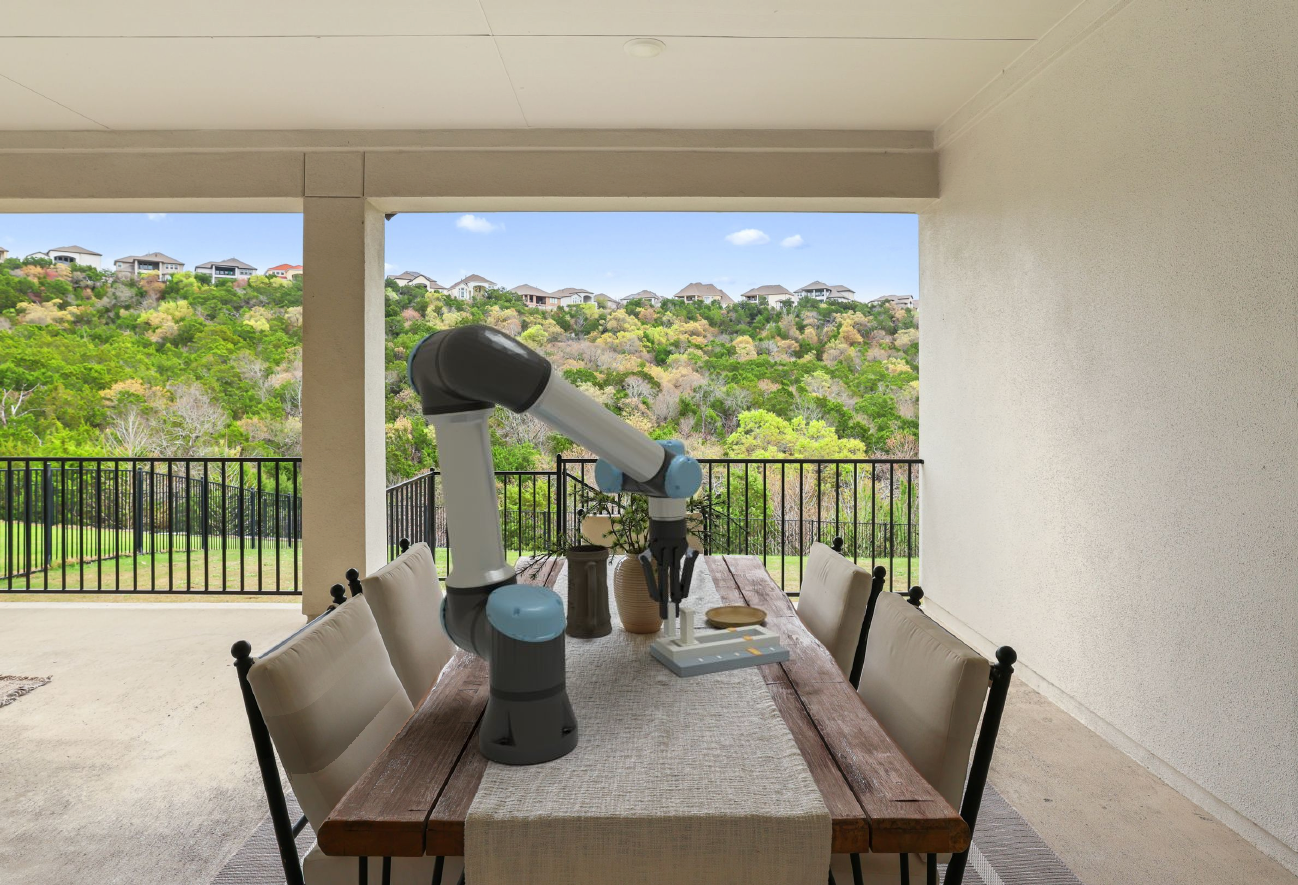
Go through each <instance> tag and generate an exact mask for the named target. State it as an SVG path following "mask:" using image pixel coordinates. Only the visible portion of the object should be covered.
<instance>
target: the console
mask: <svg viewBox="0 0 1298 885" xmlns="http://www.w3.org/2000/svg"><path fill="white" fill-rule="evenodd" d="M674 640H680V635H676V636H671V637H669V636H667V637H661V638H656V639H655V642H654V643H649V654H650V655H651V656H653V657H654V658H655V659H657V660H658V661H659V662H660V663H662V664H663V665H664V666H666V667H667V669H670V671H672V672H673V673H674V674H676V675H677V676H679V677H680V678H682V679H683V678H688V677H694V676H701V675H706V674H712V673H718V672H719V673H720V672H724V671H729V670H731V671H732V670H738V669H744V668H751V667H755V666H762V665H769V664H773V663H781V662H785V661H790V658H791V657H790V656H791V655H790V654H791V653H790V650H789V649H787V648H786V647H784V646H782V645H781V636H780V635H779V634H777V633H775V632H774V631H771V630H769V629H767V628H765V627H763V626H761V624H760V625H754V626H746V627H739V628H727V629H720V630H711V631H705V632H698V633H694V640H696V641H698V642H699V643H700V644H697V645H690V646H684V647H678V646H676V645H675V644H674Z"/></svg>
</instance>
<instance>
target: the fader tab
mask: <svg viewBox="0 0 1298 885" xmlns="http://www.w3.org/2000/svg"><path fill="white" fill-rule="evenodd" d="M679 614H680V615H679V629H680V631H679V633H680V634H679V636H680V640H674V644H675V645H676V646H678V647H684V646H690V645H697V644H700V643H699V642H698V641H696V640H694V634H695V615H696V610H695V609H693V608H691V607H689V606H681V607H680V606H679Z"/></svg>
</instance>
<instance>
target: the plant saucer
mask: <svg viewBox="0 0 1298 885" xmlns="http://www.w3.org/2000/svg"><path fill="white" fill-rule="evenodd" d="M704 615H705V617H706V619H707V620H708V621H709V622H710V623H711V624H712V625H713V626H714V627H716V628H719V629H721V630H725V629H727V628H739V627H746V626H754V625H760V626H761V624H762V623H763V622H764V621H765V620H766V618H767V617H768V612H767V611H765V610H764V609H761V608H758V607H754V606H746V605H723V606H717V607H712V608H710V609H708V610H705V612H704Z"/></svg>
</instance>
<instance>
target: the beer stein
mask: <svg viewBox="0 0 1298 885" xmlns="http://www.w3.org/2000/svg"><path fill="white" fill-rule="evenodd" d="M609 558H610V553H609V548H608V546H605V545H604V544H603V545H601V544H579V545H573V546H570V547H568V548H566V553H565V559H566V560H567V604H566V605H567V606H566V607H567V610H566V611H567V612H566V613H567V614H566V616H565V618H566V625H565V635H568V636H569V637H571V638H576V639H577V638H578V639H595V638H602V637H605V636H609V635H610V634H611V633H612V632H613V626H612V623H611V621H612V620H611V619H612V615H611V612H610V600H609V599H610V598H609V597H610V596H609V587H608V560H609Z"/></svg>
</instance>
